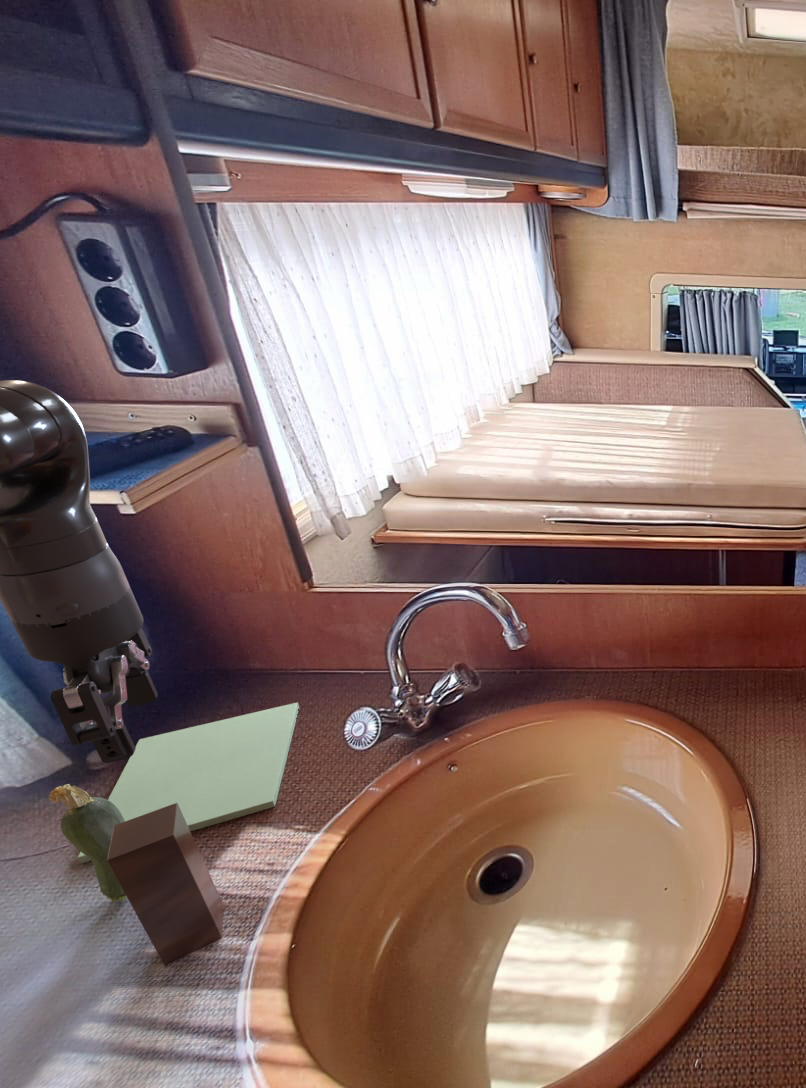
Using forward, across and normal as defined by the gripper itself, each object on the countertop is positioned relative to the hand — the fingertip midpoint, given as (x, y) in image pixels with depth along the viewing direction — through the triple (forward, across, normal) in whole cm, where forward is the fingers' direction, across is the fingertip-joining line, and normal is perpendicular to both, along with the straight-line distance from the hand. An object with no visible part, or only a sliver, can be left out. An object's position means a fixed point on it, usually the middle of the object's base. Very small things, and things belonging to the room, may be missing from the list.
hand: (133, 728), depth 64 cm
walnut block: (+31, +1, -2) cm, 31 cm away
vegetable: (+31, -8, -10) cm, 33 cm away
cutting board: (+31, -27, -6) cm, 41 cm away
